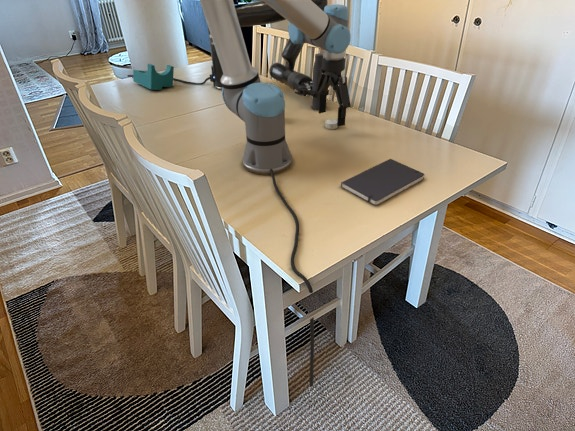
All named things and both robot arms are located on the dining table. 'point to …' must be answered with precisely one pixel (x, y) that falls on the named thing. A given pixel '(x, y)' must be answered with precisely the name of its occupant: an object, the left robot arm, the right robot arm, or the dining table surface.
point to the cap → (331, 124)
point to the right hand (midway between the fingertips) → (331, 118)
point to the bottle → (316, 78)
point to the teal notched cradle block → (154, 77)
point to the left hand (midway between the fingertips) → (322, 94)
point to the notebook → (382, 181)
